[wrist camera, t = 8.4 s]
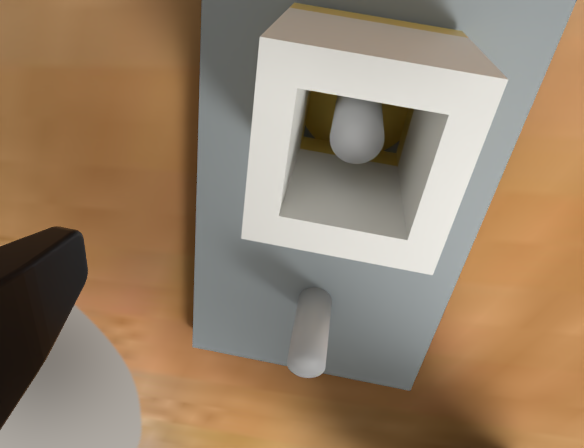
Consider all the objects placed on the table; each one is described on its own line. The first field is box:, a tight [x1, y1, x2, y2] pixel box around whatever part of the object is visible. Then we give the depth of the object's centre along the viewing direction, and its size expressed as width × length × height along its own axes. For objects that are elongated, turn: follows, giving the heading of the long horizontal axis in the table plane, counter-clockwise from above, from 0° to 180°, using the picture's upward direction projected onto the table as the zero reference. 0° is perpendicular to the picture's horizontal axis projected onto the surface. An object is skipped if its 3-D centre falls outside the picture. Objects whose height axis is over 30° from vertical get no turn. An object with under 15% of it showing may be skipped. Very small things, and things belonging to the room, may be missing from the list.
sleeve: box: [241, 3, 508, 275], centre depth 14 cm, size 6×6×6 cm
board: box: [193, 0, 577, 391], centre depth 19 cm, size 20×12×5 cm, turn 172°
